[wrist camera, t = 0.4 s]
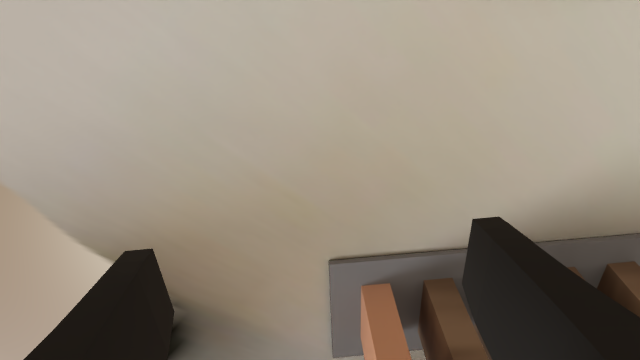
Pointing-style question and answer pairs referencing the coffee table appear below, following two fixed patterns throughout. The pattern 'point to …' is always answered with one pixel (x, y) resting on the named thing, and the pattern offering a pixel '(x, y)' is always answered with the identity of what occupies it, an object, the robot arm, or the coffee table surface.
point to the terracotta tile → (381, 325)
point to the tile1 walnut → (622, 284)
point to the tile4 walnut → (447, 324)
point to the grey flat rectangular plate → (417, 267)
